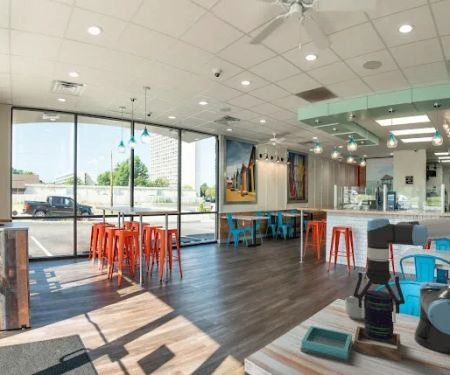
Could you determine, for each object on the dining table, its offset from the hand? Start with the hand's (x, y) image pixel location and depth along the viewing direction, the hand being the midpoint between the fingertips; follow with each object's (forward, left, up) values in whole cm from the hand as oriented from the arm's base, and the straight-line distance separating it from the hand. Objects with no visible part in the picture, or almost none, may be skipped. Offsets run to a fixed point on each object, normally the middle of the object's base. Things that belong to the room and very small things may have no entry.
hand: (378, 319), depth 117 cm
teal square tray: (+17, +10, -10) cm, 22 cm away
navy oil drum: (0, 0, -6) cm, 6 cm away
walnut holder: (0, 0, -10) cm, 10 cm away
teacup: (+10, -29, -11) cm, 33 cm away
